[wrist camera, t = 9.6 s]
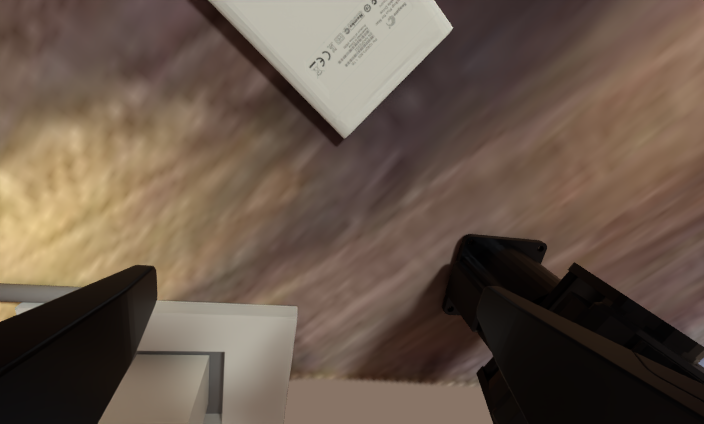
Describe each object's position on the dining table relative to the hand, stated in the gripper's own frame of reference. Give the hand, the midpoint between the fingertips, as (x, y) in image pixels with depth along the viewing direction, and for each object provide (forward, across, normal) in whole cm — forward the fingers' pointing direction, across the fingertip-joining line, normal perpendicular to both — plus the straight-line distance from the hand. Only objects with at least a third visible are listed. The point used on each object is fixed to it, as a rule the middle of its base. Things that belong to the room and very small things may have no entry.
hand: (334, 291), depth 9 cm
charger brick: (+12, +8, +16) cm, 21 cm away
